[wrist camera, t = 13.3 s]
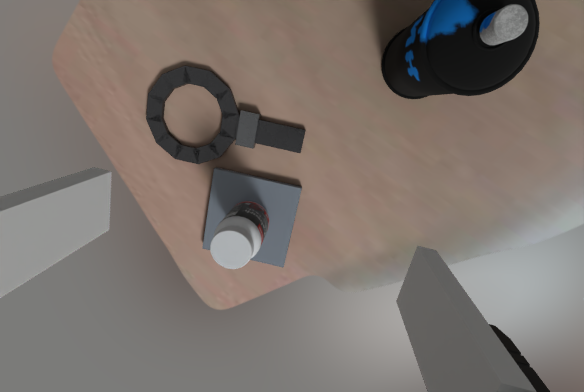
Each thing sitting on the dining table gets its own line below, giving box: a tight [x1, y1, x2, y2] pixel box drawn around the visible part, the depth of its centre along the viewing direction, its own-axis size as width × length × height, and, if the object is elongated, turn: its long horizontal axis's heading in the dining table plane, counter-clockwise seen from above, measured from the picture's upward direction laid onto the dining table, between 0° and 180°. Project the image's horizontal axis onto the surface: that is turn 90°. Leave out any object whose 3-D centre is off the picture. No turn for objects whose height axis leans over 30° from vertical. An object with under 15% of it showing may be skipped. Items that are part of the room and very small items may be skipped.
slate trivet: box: [203, 167, 302, 267], centre depth 45 cm, size 12×12×1 cm
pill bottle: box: [210, 201, 269, 269], centre depth 40 cm, size 6×6×10 cm
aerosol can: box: [382, 0, 540, 99], centre depth 29 cm, size 8×8×20 cm
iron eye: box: [146, 66, 305, 164], centre depth 42 cm, size 12×21×1 cm, turn 78°
